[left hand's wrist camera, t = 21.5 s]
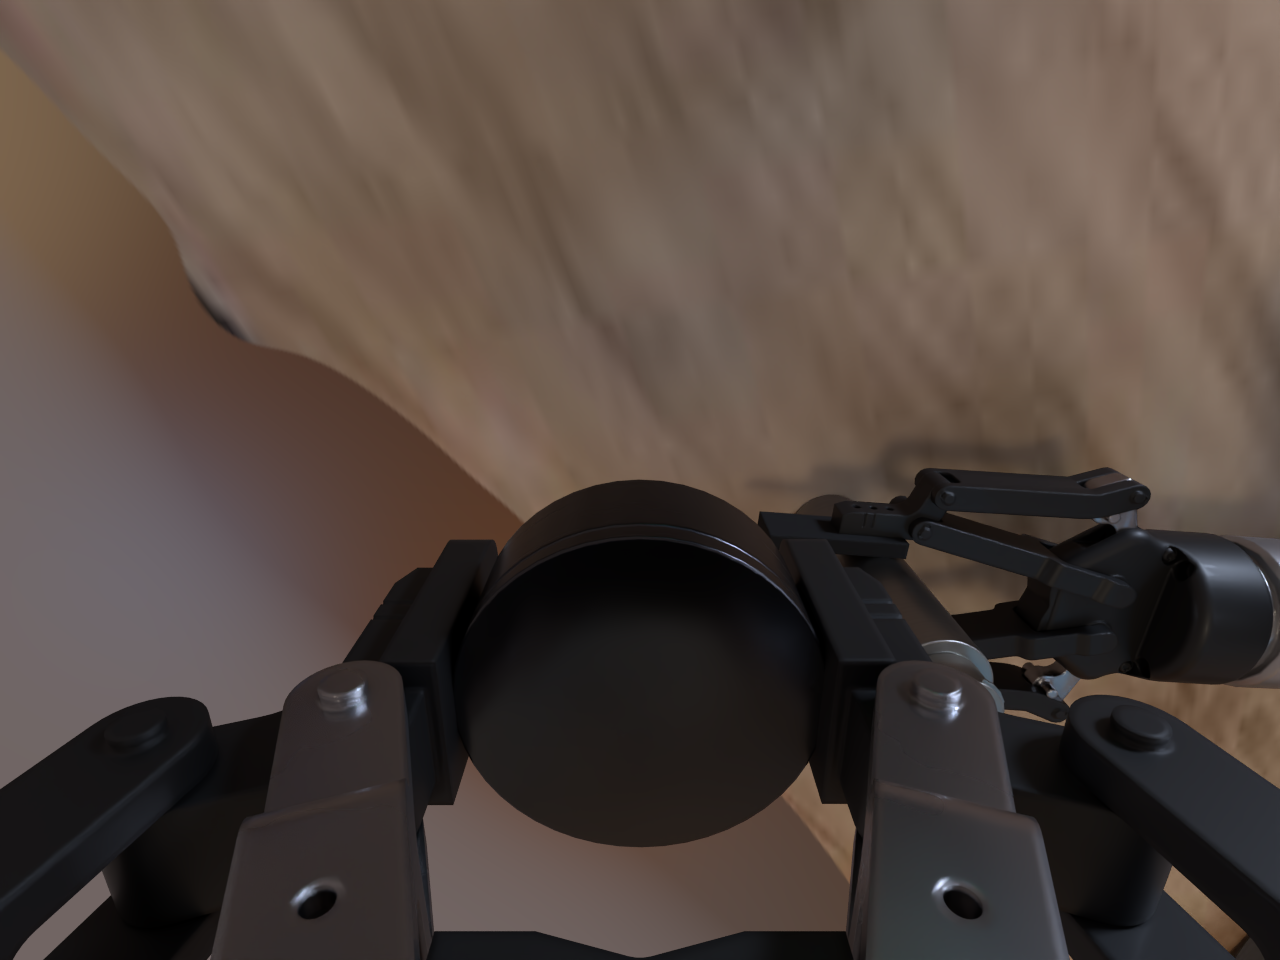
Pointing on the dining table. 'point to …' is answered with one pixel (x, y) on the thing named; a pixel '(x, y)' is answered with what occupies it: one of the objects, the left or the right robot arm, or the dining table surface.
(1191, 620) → the right robot arm
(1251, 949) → the dark grey soft lump
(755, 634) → the lid
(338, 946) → the left robot arm
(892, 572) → the brown long cylinder
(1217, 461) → the dining table surface
